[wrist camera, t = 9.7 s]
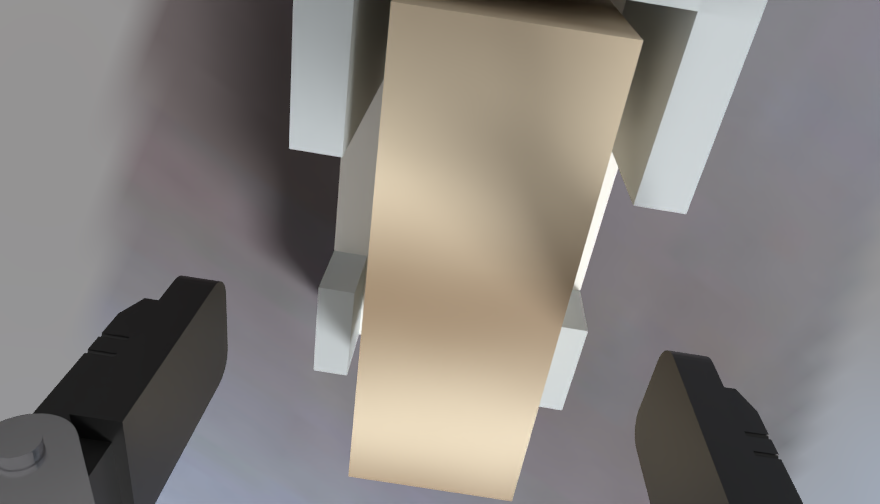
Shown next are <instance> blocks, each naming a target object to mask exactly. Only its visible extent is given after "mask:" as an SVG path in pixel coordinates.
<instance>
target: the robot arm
mask: <svg viewBox="0 0 880 504" xmlns="http://www.w3.org/2000/svg"><path fill="white" fill-rule="evenodd" d="M227 351H228V344H227V314H226V290H225V286H224V284H223V282H220V281H214V280H207V279H200V278H194V277H187V276H179V277H177V278H176V279H175V280H174V282H173V283H172V284H171V285H170V287H169V288H168V289H167V290H166V292H165V293H164V294H163V296H162V297H161V298H160V299H159V300H152V299H146V298H144V299H143V300H141V301H139V302H138V303H136V304H134V305H132V306H131V307H129V308H127V309H125V310H124V311H122V312H120V313H119V314H118V315H117V316H116V317H115V318H114V319H113V321H112V322H111V323H110V324H109V325H108V326H107V328H106V329H105V330H104V331H103V332H102V336H101V337H98V338H97V339H96V340H95V342H94V343H93V344H92V345H91V346H90V347H89V349H88V353H84V354H83V356H82V357H81V358H80V359H79V360H78V361H77V363H76V364H75V365H74V366H73V367H72V368H71V370H70V371H69V372H68V373H67V374H66V375H65V377H64V378H63V379H62V380H61V381H60V383H59V384H58V385H57V386H56V387H55V388H54V389H53V391H52V392H51V393H50V394H49V395H48V397H47V398H46V399H45V400H44V401H43V402H42V404H41V405H40V406H39V407H38V408H37V409H36V410H35V412H34V413H33V414H26V415H20V416H16V417H13V418H9V419H6V420H3V421H1V422H0V504H155V502H156V501H157V499H158V497H159V495H160V493H161V491H162V489H163V488H164V486H165V484H166V482H167V480H168V478H169V476H170V475H171V473H172V471H173V469H174V467H175V465H176V463H177V462H178V460H179V458H180V456H181V454H182V452H183V450H184V449H185V447H186V445H187V443H188V441H189V439H190V437H191V436H192V434H193V432H194V430H195V428H196V426H197V424H198V423H199V421H200V419H201V417H202V415H203V413H204V411H205V410H206V408H207V406H208V404H209V402H210V400H211V398H212V397H213V395H214V393H215V391H216V389H217V387H218V385H219V383H220V381H221V379H222V376H223V373H224V370H225V366H226V360H227ZM768 436H769V434H768V432H767V430H766V428H765V426H764V424H763V422H762V420H761V418H760V416H759V414H758V412H757V411H756V410H755V409H754V408H753V407H752V406H751V405H750V404H749V403H748V402H747V400H746V399H745V398H744V397H743V396H742V395H741V394H740V393H739V392H738V391H737V390H736V389H732V388H725V387H724V386H723V384H722V382H721V380H720V378H719V375H718V373H717V371H716V369H715V367H714V364H713V362H712V361H711V359H710V358H709V357H706V356H700V355H693V354H687V353H680V352H674V351H664V352H663V353H662V354H661V356H660V357H659V360H658V362H657V365H656V367H655V370H654V372H653V375H652V378H651V380H650V383H649V385H648V388H647V390H646V393H645V396H644V398H643V401H642V403H641V406H640V409H639V411H638V414H637V418H636V425H635V444H636V449H637V453H638V457H639V461H640V465H641V469H642V473H643V477H644V481H645V484H646V488H647V492H648V496H649V500H650V504H803V503H802V500H801V498H800V496H799V494H798V493H797V490H796V488H795V486H794V484H793V482H792V480H791V478H790V476H789V474H788V472H787V470H786V468H785V466H784V464H783V462H782V460H780V459H778V455H779V454H778V452H777V450H776V448H775V446H774V444H773V442H772V440H770V439H768Z"/></svg>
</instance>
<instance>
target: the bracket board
mask: <svg viewBox="0 0 880 504" xmlns="http://www.w3.org/2000/svg"><path fill="white" fill-rule="evenodd" d="M391 1H392V0H293V27H292V63H291V98H290V134H289V149H294V150H300V151H306V152H312V153H318V154H324V155H330V156H336V157H341V162H340V176H339V190H338V204H337V218H336V232H335V246H334V252H333V255H332V257H331V259H330V262H329V264H328V266H327V269H326V271H325V273H324V276H323V278H322V281H321V283H320V285H319V289H318V306H317V323H316V339H315V356H314V370H316V371H323V372H329V373H335V374H341V375H347V373H348V370H349V366H350V363H351V360H352V356H353V353H354V350H355V346H356V343H357V339H358V336H359V334H361V331H362V319H363V308H364V297H365V286H366V275H367V263H368V252H369V241H370V230H371V219H372V207H373V196H374V185H375V174H376V163H377V151H378V140H379V129H380V118H381V107H382V95H383V84H384V73H385V62H386V51H387V39H388V28H389V17H390V6H391ZM610 1H611V2H612V3H613V5H614V6H615V7H616V8H617V9H618V11H619V12H620V13H621V14H622V15H623V17H624V18H625V19H626V20H627V21H628V23H629V24H630V25H631V26H632V27H633V29H634V30H635V31H636V32H637V33H638V35H639V36H640V37H641V38H642V39H643V44H642V48H641V51H640V55H639V58H638V62H637V65H636V69H635V72H634V76H633V79H632V83H631V86H630V90H629V93H628V97H627V100H626V104H625V107H624V111H623V114H622V118H621V121H620V125H619V128H618V132H617V135H616V139H615V142H614V146H613V149H612V153H611V156H610V160H609V163H608V167H607V170H606V174H605V177H604V181H603V184H602V188H601V191H600V195H599V198H598V202H597V205H596V209H595V212H594V216H593V219H592V223H591V226H590V230H589V233H588V237H587V240H586V244H585V247H584V251H583V254H582V258H581V261H580V265H579V268H578V272H577V275H576V279H575V282H574V286H573V289H572V293H571V296H570V300H569V303H568V307H567V310H566V314H565V317H564V321H563V324H562V328H561V331H560V335H559V338H558V342H557V345H556V349H555V352H554V356H553V359H552V363H551V366H550V370H549V373H548V377H547V380H546V384H545V387H544V391H543V394H542V398H541V401H540V405H539V407H545V408H551V409H558V410H562V408H563V405H564V402H565V399H566V396H567V393H568V390H569V387H570V384H571V381H572V378H573V375H574V372H575V369H576V366H577V363H578V360H579V357H580V354H581V351H582V348H583V345H584V342H585V338H586V335H587V332H588V329H587V324H586V319H585V314H584V309H583V304H582V299H581V293H580V289H581V286H582V283H583V280H584V276H585V273H586V270H587V267H588V263H589V260H590V257H591V254H592V250H593V247H594V244H595V241H596V237H597V234H598V231H599V228H600V224H601V221H602V218H603V215H604V211H605V208H606V205H607V202H608V199H609V195H610V192H611V189H612V186H613V182H614V179H615V176H616V173H617V169H618V168H619V171H620V173H621V176H622V178H623V181H624V183H625V186H626V188H627V191H628V193H629V196H630V198H631V201H632V203H633V205H634V206H640V207H646V208H652V209H658V210H664V211H670V212H676V213H682V214H686V213H687V210H688V208H689V205H690V203H691V200H692V197H693V195H694V192H695V189H696V187H697V184H698V182H699V179H700V176H701V174H702V171H703V169H704V166H705V163H706V161H707V158H708V155H709V153H710V150H711V148H712V145H713V142H714V140H715V137H716V134H717V132H718V129H719V127H720V124H721V121H722V119H723V116H724V114H725V111H726V108H727V106H728V103H729V100H730V98H731V95H732V93H733V90H734V87H735V85H736V82H737V79H738V77H739V74H740V72H741V69H742V66H743V64H744V61H745V58H746V56H747V53H748V51H749V48H750V45H751V43H752V40H753V38H754V35H755V32H756V30H757V27H758V24H759V22H760V19H761V17H762V14H763V11H764V9H765V6H766V3H767V1H768V0H610Z"/></svg>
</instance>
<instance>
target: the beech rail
mask: <svg viewBox="0 0 880 504" xmlns="http://www.w3.org/2000/svg"><path fill="white" fill-rule="evenodd" d="M642 44H643V39H642V38H641V37H640V36H639V35H638V33H637V32H636V31H635V30H634V29H633V27H632V26H631V25H630V24H629V23H628V21H627V20H626V19H625V18H624V17H623V15H622V14H621V13H620V12H619V11H618V9H617V8H616V7H615V6H614V5H613V3H612V2H611V1H610V0H392V1H391V6H390V17H389V28H388V39H387V51H386V62H385V73H384V84H383V95H382V107H381V118H380V129H379V140H378V151H377V163H376V174H375V185H374V196H373V207H372V219H371V230H370V241H369V252H368V263H367V275H366V286H365V297H364V308H363V319H362V331H361V342H360V353H359V364H358V375H357V387H356V398H355V409H354V420H353V431H352V443H351V454H350V465H349V476H350V477H356V478H363V479H369V480H376V481H383V482H389V483H396V484H402V485H409V486H415V487H422V488H429V489H435V490H442V491H448V492H455V493H461V494H468V495H475V496H481V497H488V498H494V499H501V500H508V501H512V499H513V495H514V492H515V488H516V485H517V481H518V478H519V474H520V471H521V467H522V464H523V460H524V457H525V454H526V450H527V447H528V443H529V440H530V436H531V433H532V429H533V426H534V422H535V419H536V415H537V412H538V408H539V405H540V401H541V398H542V394H543V391H544V387H545V384H546V380H547V377H548V373H549V370H550V366H551V363H552V359H553V356H554V352H555V349H556V345H557V342H558V338H559V335H560V331H561V328H562V324H563V321H564V317H565V314H566V310H567V307H568V303H569V300H570V296H571V293H572V289H573V286H574V282H575V279H576V275H577V272H578V268H579V265H580V261H581V258H582V254H583V251H584V247H585V244H586V240H587V237H588V233H589V230H590V226H591V223H592V219H593V216H594V212H595V209H596V205H597V202H598V198H599V195H600V191H601V188H602V184H603V181H604V177H605V174H606V170H607V167H608V163H609V160H610V156H611V153H612V149H613V146H614V142H615V139H616V135H617V132H618V128H619V125H620V121H621V118H622V114H623V111H624V107H625V104H626V100H627V97H628V93H629V90H630V86H631V83H632V79H633V76H634V72H635V69H636V65H637V62H638V58H639V55H640V51H641V48H642Z"/></svg>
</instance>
